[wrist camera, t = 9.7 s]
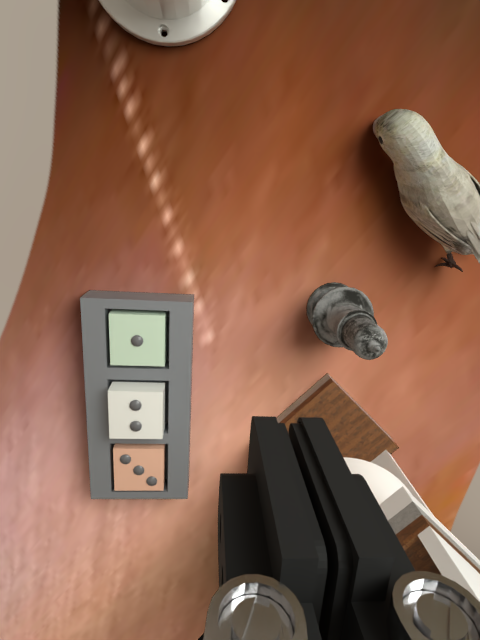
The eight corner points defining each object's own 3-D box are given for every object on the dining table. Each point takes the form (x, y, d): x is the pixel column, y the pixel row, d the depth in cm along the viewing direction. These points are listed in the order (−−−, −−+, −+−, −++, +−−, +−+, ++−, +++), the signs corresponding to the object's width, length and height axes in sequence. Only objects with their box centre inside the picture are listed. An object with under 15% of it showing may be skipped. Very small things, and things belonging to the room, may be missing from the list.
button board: (89, 290, 39) (80, 297, 36) (194, 294, 40) (193, 302, 37) (98, 479, 45) (90, 498, 43) (188, 480, 46) (187, 498, 43)
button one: (113, 307, 39) (108, 313, 37) (167, 309, 39) (164, 316, 37) (115, 356, 40) (110, 365, 38) (166, 358, 40) (164, 366, 38)
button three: (117, 437, 43) (112, 449, 41) (165, 437, 43) (163, 449, 41) (118, 477, 44) (114, 491, 42) (165, 477, 44) (163, 491, 42)
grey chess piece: (309, 341, 42) (346, 395, 31) (298, 287, 41) (333, 324, 29) (364, 327, 42) (421, 375, 31) (355, 273, 41) (413, 303, 29)
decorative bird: (397, 99, 37) (443, 76, 29) (480, 240, 41) (537, 250, 34) (348, 140, 37) (381, 127, 30) (435, 274, 42) (481, 291, 35)
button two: (112, 381, 39) (107, 391, 37) (164, 382, 40) (162, 392, 38) (114, 427, 41) (109, 439, 39) (164, 427, 41) (162, 439, 39)
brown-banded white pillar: (390, 437, 47) (849, 1045, 13) (321, 494, 48) (573, 1164, 15) (327, 373, 44) (712, 948, 10) (255, 436, 45) (386, 1110, 12)
